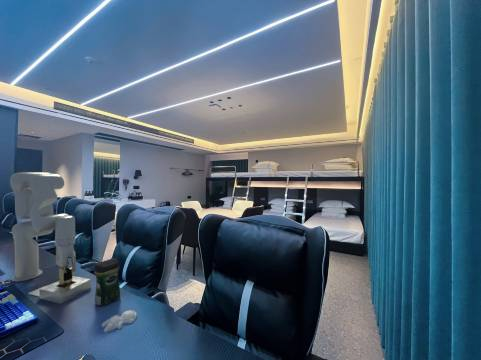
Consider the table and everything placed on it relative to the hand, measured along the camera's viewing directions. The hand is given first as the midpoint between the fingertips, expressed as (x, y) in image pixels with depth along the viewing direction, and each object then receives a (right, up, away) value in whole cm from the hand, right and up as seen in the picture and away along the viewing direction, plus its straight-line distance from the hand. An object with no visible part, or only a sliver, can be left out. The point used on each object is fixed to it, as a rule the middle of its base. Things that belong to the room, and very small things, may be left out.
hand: (65, 277), depth 104 cm
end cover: (0, -5, 0) cm, 5 cm away
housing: (0, -8, 0) cm, 8 cm away
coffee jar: (+24, -8, -6) cm, 26 cm away
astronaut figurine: (+38, -8, -21) cm, 44 cm away
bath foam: (-13, -8, +18) cm, 23 cm away
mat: (-13, -8, +2) cm, 15 cm away
